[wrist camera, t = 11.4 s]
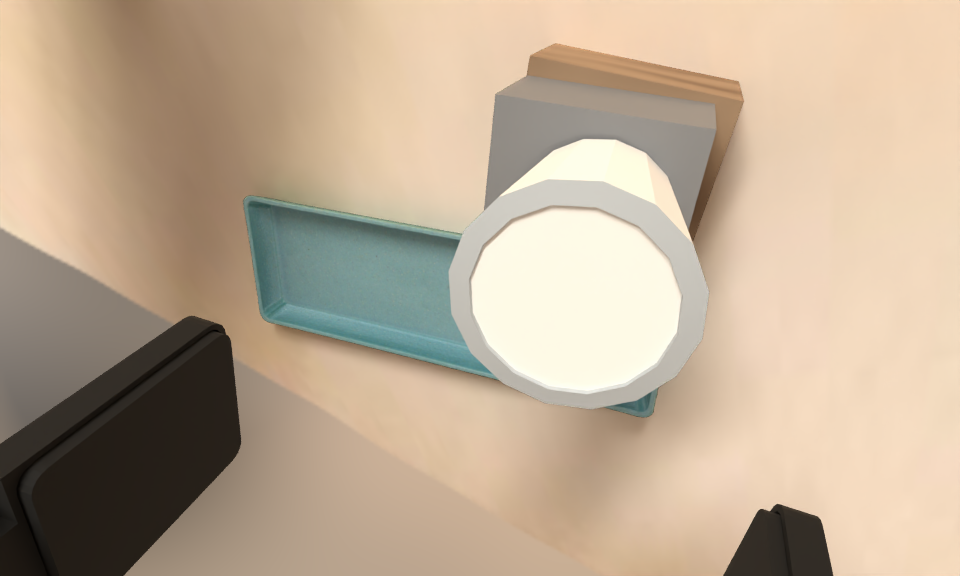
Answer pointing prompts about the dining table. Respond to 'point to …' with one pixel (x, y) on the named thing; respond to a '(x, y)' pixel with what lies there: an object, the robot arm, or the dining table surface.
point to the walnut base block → (650, 80)
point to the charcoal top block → (598, 131)
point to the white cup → (581, 279)
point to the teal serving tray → (364, 283)
